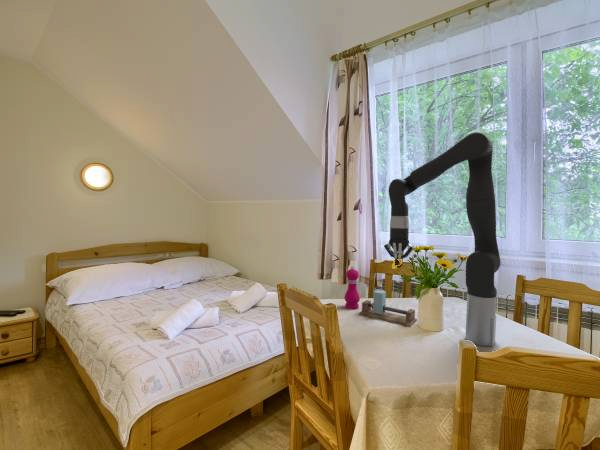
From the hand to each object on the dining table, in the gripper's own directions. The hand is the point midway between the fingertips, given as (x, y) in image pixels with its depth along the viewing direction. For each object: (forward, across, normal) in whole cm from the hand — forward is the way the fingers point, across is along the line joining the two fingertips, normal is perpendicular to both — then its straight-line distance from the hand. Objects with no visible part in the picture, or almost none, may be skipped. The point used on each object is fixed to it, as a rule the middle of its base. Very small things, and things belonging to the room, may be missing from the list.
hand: (398, 267), depth 138 cm
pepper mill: (+23, +23, -3) cm, 33 cm away
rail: (+23, +4, 0) cm, 23 cm away
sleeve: (+21, +8, 0) cm, 23 cm away
